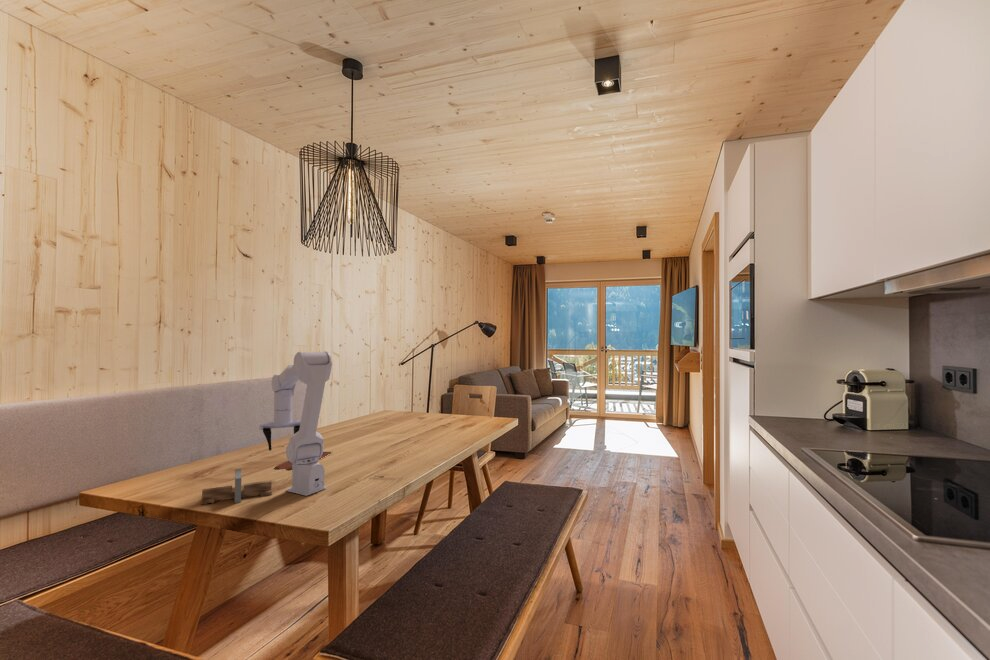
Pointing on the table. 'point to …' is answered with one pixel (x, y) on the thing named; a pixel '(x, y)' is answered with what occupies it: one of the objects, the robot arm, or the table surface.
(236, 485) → the grey long rectangular block
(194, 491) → the table surface
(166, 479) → the table surface
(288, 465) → the wooden tablet
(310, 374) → the robot arm
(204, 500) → the walnut slotted stand
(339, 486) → the table surface
